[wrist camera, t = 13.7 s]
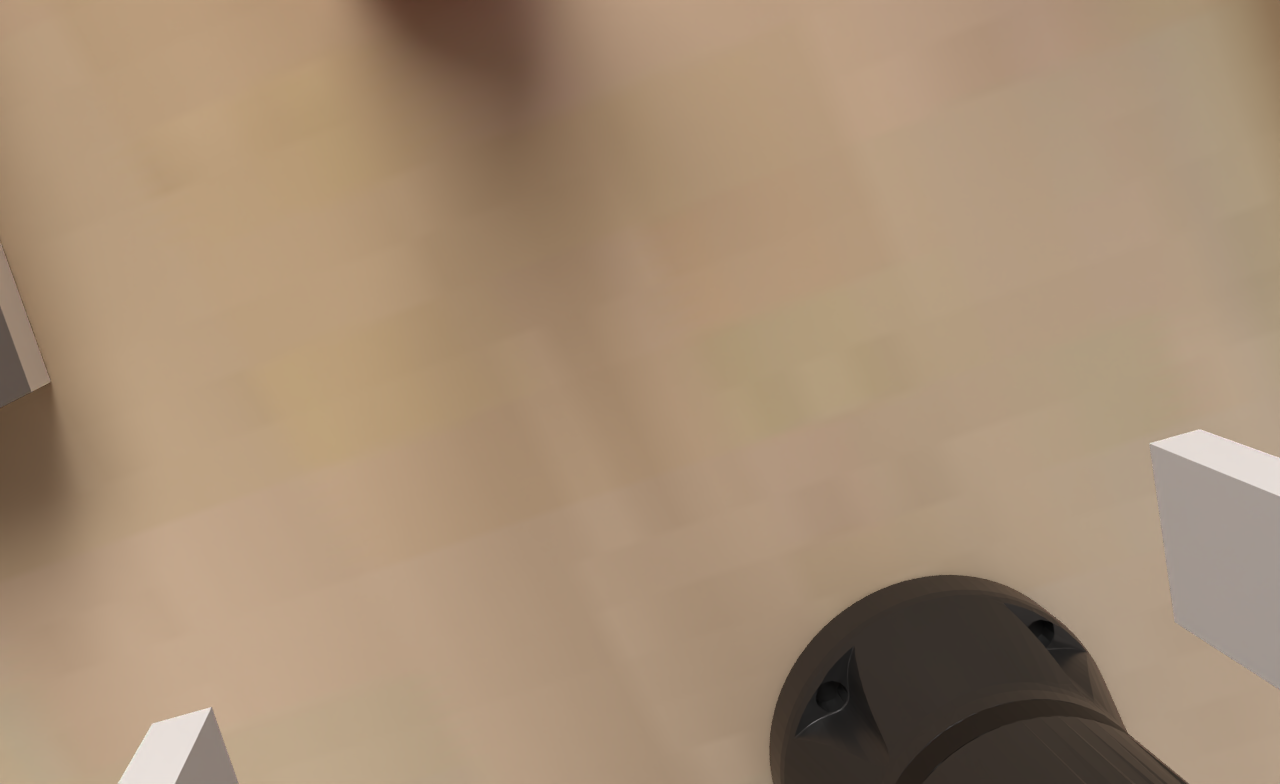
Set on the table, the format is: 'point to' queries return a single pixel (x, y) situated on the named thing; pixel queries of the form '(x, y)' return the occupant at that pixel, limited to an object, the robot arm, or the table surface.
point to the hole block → (16, 343)
